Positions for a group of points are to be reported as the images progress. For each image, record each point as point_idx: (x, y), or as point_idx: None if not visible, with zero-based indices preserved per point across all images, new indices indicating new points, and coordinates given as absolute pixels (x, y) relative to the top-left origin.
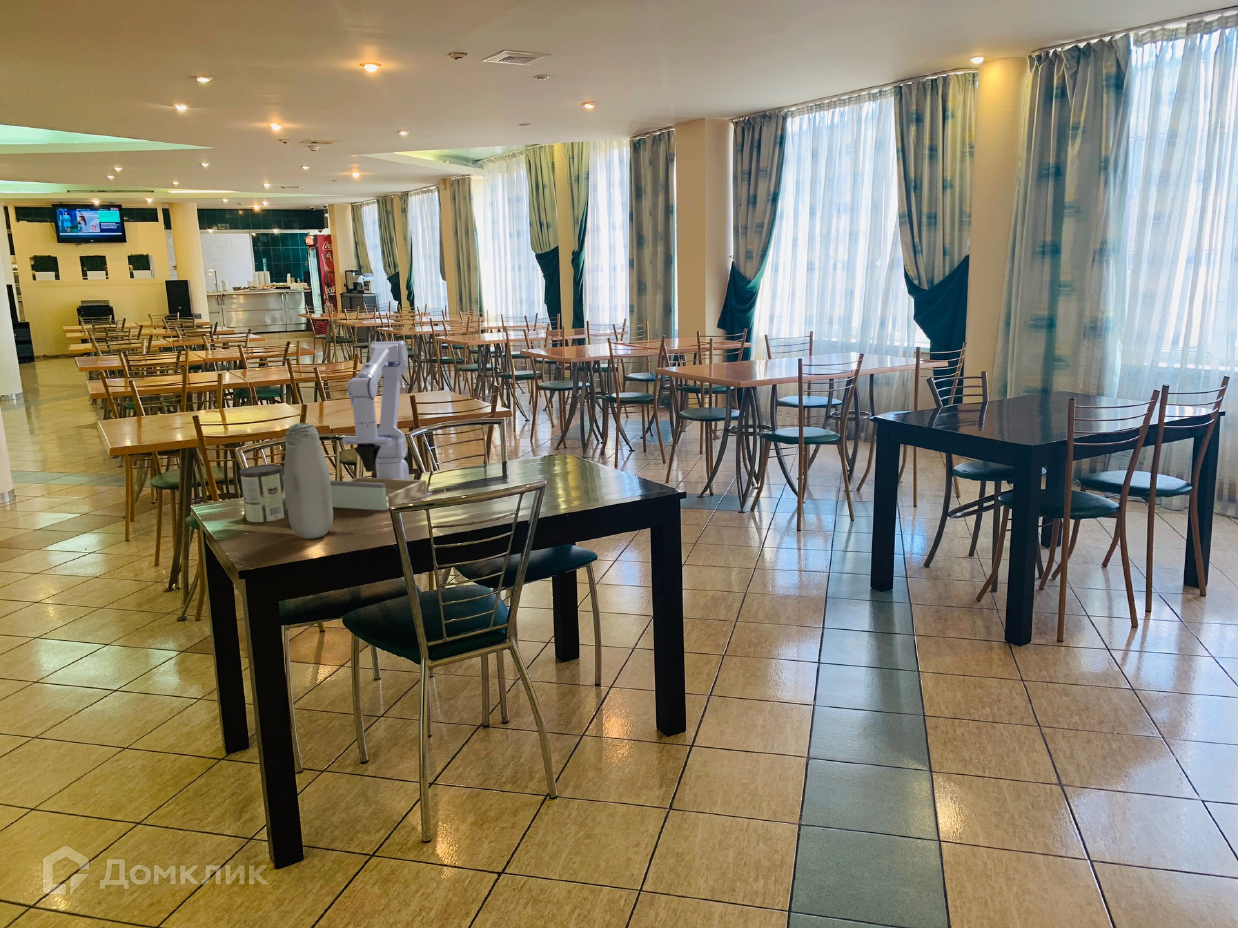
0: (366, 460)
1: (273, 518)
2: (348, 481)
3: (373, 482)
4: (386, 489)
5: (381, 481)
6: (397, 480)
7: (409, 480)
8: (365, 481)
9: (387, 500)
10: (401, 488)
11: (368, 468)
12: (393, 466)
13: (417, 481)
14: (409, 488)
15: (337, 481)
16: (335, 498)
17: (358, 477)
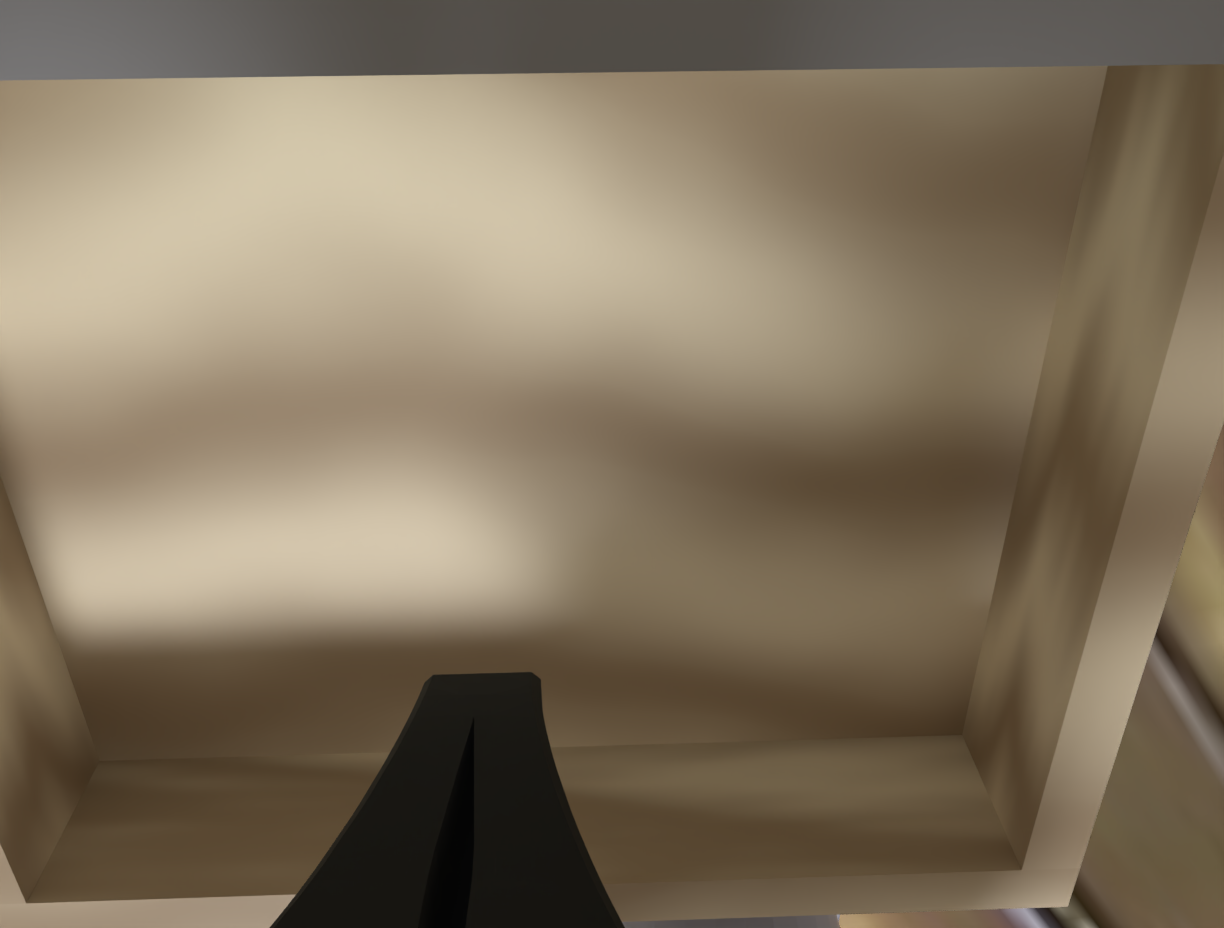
0: (420, 870)
1: None
2: (609, 64)
3: (779, 835)
4: (584, 775)
5: (654, 856)
6: None
7: (207, 906)
8: (907, 839)
9: (290, 450)
10: (358, 800)
11: (431, 716)
12: None
13: (68, 897)
14: None
15: (927, 1)
16: None
17: (1047, 894)
